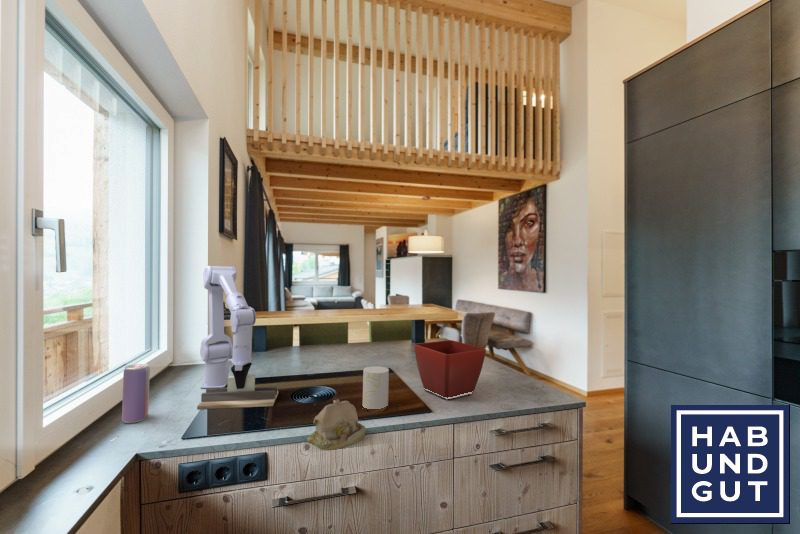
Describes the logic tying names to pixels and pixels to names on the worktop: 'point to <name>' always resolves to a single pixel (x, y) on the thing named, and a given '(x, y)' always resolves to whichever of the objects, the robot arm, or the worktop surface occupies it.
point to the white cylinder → (375, 387)
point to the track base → (238, 398)
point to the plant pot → (449, 366)
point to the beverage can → (135, 393)
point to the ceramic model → (336, 426)
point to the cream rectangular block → (248, 386)
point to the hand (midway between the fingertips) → (241, 387)
